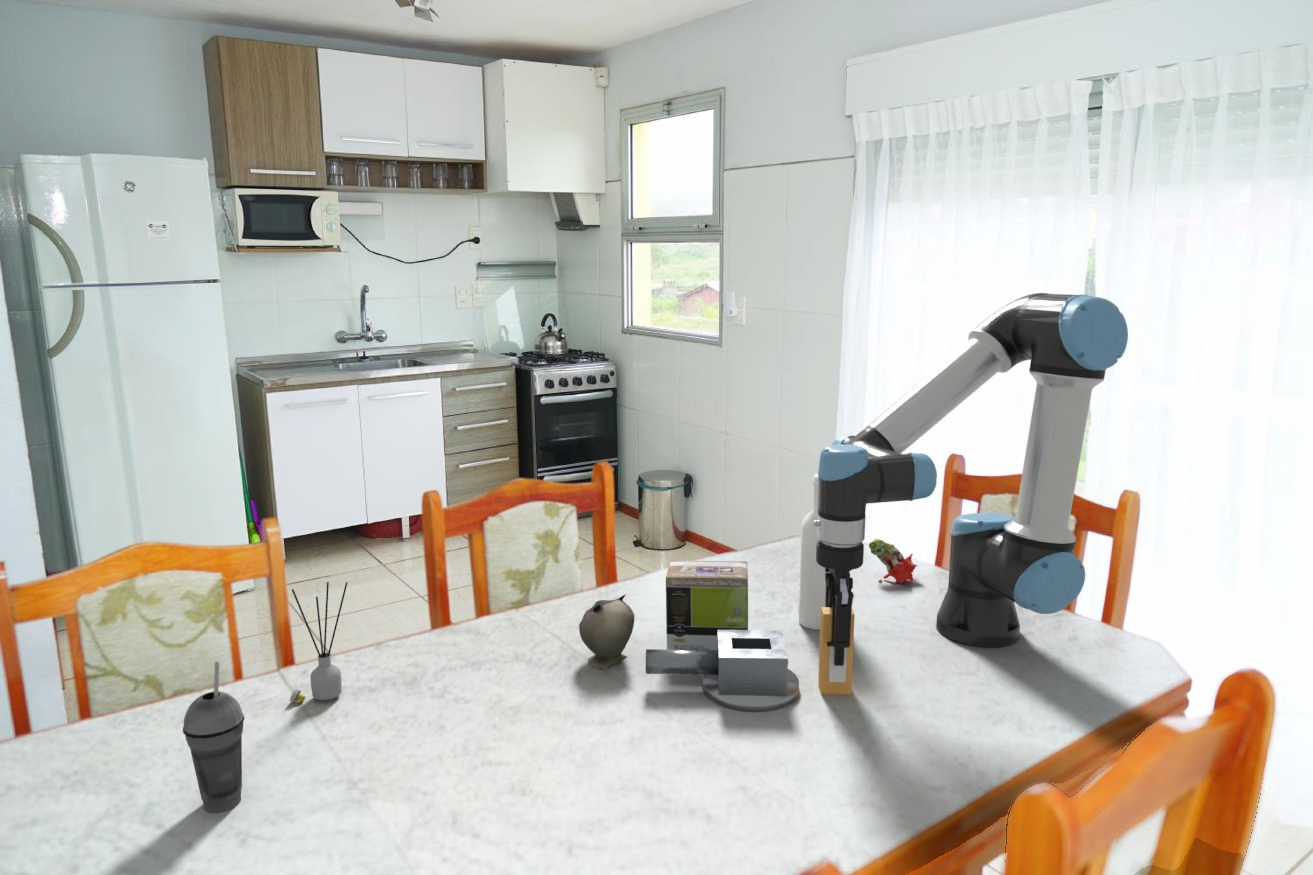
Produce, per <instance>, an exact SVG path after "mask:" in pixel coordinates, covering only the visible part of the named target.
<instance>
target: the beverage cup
mask: <svg viewBox="0 0 1313 875" xmlns="http://www.w3.org/2000/svg"><path fill="white" fill-rule="evenodd" d="M219 670H220V662H219V661H215V662H214V679H213V680H214V682H213V685H214V686H213V687H214V688H213V691H210V692H206V693H203V694H202V695H199V696H198V697H197V698H196V699H194V701H192V703H191V704H190V705H189V707H188V708H187V710H186V712H185V715H184V719H183V727H182V732H183V733H182V734H184V736H185V740H186V743H187V746H188V747H189V750H190V753H191V755H190V756H191V758H192V762H193V767H194V772H195V775H196V781H197V785H198V786H197V787H198V788H199V789H198V790H199V793H200V794H199V795H200V799H201V800H202V805H203V810H204V811H205V812H207V813H210V814H218V813H223V812H228V811H230V810H232V809H234V808H235V807H237V806H239V804H240V803H241V801H242V788H243V776H242V774H243V770H242V769H243V767H242V766H243V760H242V759H243V758H242V757H243V753H242V752H243V751H242V749H243V744H242V743H243V741H242V738H243V737H242V736H243V732H244V721H245V715H244V713H243V711H242V707H241V705H240V703H239V702H238V700H237V699H236V698H235V697H234V696H232V695H231V694H229V693H226V692H223V691H219V683H220V682H219V680H220V678H219V676H220V675H219V674H220V671H219Z"/></svg>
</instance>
